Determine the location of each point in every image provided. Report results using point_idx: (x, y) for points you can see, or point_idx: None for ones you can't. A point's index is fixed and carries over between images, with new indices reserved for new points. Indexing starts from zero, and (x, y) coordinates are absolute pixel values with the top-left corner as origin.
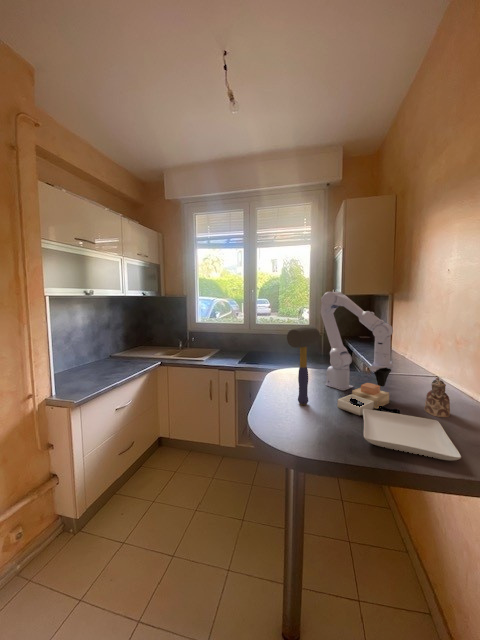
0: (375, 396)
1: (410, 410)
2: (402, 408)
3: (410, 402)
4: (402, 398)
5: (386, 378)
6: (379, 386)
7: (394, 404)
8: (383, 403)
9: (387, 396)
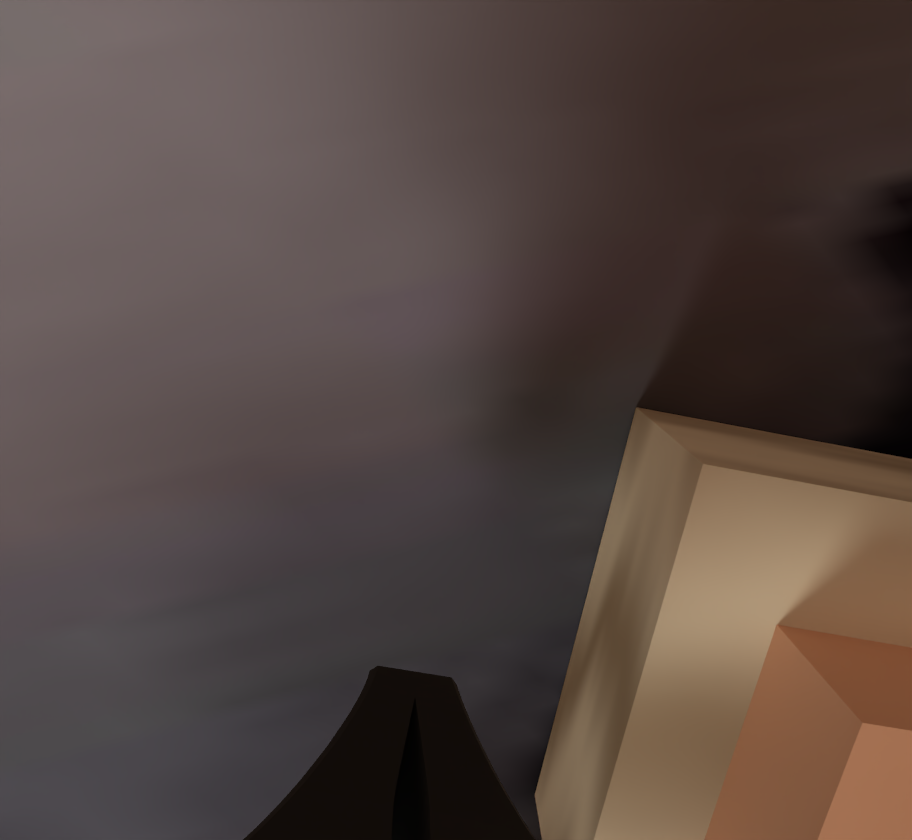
0: None
1: (778, 20)
2: (762, 160)
3: (334, 106)
4: (214, 277)
5: (344, 785)
6: (907, 725)
7: (646, 317)
8: (855, 455)
9: (756, 459)
